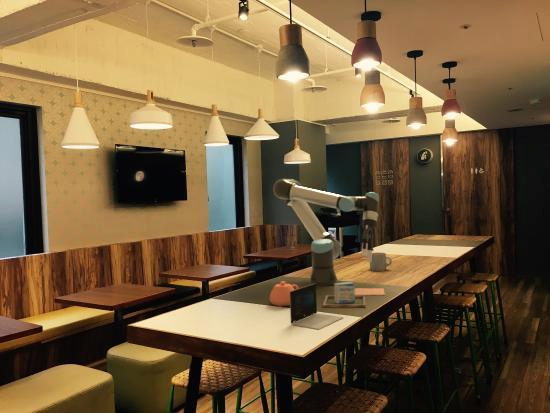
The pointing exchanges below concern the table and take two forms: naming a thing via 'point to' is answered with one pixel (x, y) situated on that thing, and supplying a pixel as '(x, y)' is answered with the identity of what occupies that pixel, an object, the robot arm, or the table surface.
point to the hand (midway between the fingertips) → (366, 258)
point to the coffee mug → (379, 261)
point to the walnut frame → (343, 304)
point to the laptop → (308, 309)
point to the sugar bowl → (281, 294)
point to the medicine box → (344, 292)
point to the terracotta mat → (369, 291)
